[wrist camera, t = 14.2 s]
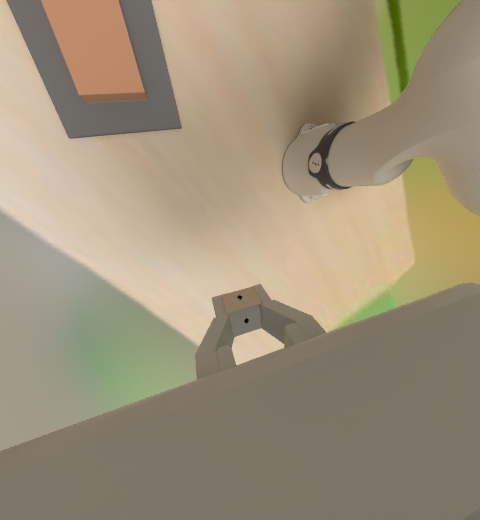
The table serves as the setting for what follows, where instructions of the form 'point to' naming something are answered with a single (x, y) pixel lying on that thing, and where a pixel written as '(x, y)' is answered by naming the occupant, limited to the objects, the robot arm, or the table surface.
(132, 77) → the tile
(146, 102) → the mat
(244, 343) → the table surface
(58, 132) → the table surface
